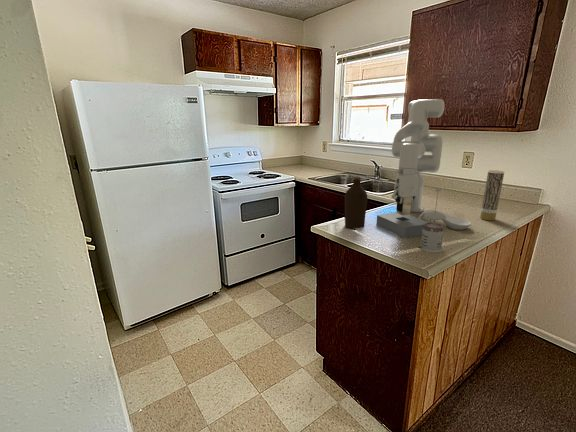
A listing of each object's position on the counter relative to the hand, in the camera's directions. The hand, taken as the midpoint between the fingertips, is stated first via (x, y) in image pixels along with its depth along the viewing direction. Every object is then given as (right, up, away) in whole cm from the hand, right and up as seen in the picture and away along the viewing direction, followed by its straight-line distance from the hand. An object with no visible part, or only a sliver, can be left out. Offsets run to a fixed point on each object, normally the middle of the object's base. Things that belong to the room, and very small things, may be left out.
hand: (403, 210), depth 144 cm
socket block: (0, -10, +3) cm, 10 cm away
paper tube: (+51, -4, +18) cm, 54 cm away
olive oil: (-21, -8, +10) cm, 24 cm away
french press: (+5, -16, -15) cm, 23 cm away
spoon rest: (+23, -8, +9) cm, 26 cm away
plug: (0, -2, +1) cm, 2 cm away
